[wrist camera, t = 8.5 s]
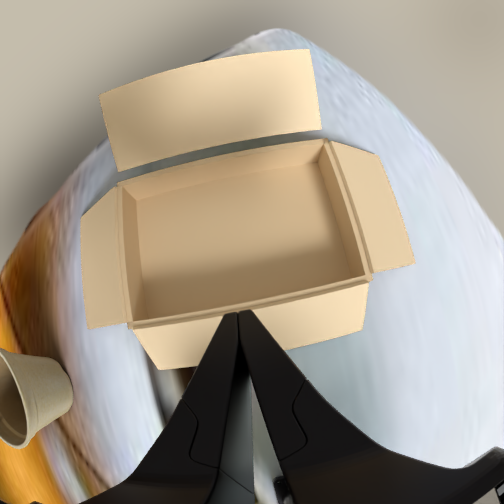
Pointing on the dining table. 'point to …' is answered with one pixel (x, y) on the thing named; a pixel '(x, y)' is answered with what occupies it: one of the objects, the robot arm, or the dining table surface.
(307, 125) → the flap
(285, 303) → the carton
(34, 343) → the dining table surface
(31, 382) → the flower pot
